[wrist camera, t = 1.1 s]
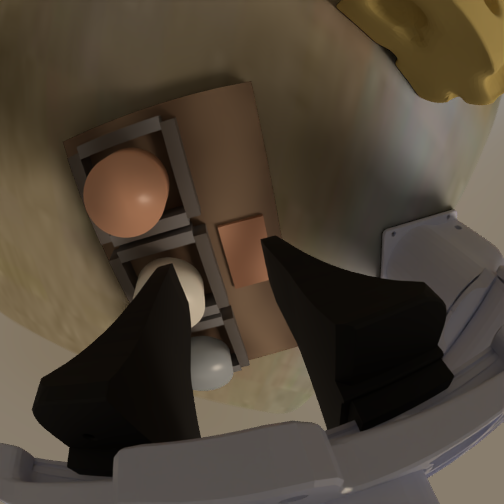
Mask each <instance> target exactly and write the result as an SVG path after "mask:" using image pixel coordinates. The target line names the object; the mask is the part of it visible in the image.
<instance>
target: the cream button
mask: <svg viewBox="0 0 504 504" xmlns="http://www.w3.org/2000/svg"><path fill="white" fill-rule="evenodd" d="M170 263H173V266H174V268H175V271H176V273H177V276H178V278H179V281H180V283H181V286H182V288H183V291H184V293H185V295H186V298H187V300H188V302H189V309H190V317H191V327H193V326H194V325H196V324H197V323H198V322H199V321H200V320H201V318H202V316H203V314H204V311H205V297H204V284H203V279H202V277H201V275H200V273H199V272H198V270H197V269H196V268H195V267H194V266H193V265H191V264H190V263H188V262H186V261H184V260H181V259H178V258H172V257H166V258H159V259H156V260H154V261H152V262H150V263H148V264H147V265H146V266H145V267H144V268H143V269H142V270H141V272H140V274H139V276H138V280H137V284H136V288H135V292H134V296H133V299H134V298H135V296H136V295H137V294H138V292H139V291H140V290H141V288H142V287H143V286H144V284H145V283H146V282H147V280H148V279H149V277H150V276H151V275H152V273H153V272H154V271H155V270H156V268H157V267H159V266H163V265H167V264H170Z"/></svg>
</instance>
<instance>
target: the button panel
mask: <svg viewBox="0 0 504 504" xmlns="http://www.w3.org/2000/svg"><path fill="white" fill-rule="evenodd" d="M63 144H64V147H65V150H66V153H67V156H68V158H67V159H68V162H69V165H70V168H71V171H72V173H73V176H74V179H75V182H76V185H77V187H78V190H79V193H80V195H81V198H82V201H83V203H84V197H83V192H84V185H85V182H86V179H87V177H88V174H89V173H90V171H91V170H92V169H93V167H94V166H95V165H96V164H97V163H99V162H100V161H101V160H103V159H104V158H106V157H107V156H109V155H111V154H112V153H114V152H116V151H118V150H120V149H124V148H140V149H144V150H146V151H149V152H150V153H152V154H154V155H155V156H156V157H157V158H158V159H159V160H160V161H161V162H162V164H163V165H164V167H165V169H166V171H167V174H168V177H169V194H168V198H167V201H166V205H165V208H164V211H163V214H162V216H161V218H160V219H159V221H158V222H157V223H156V225H155V226H154V227H153V228H151V229H150V230H149V231H147V232H146V233H144V234H141V235H139V236H135V237H129V238H122V237H116V236H113V235H110V234H108V233H106V232H104V231H103V230H101V229H100V228H99V227H98V226H97V225H95V223H94V222H93V221H92V220H91V218H90V217H89V218H90V221H91V223H92V225H93V228H94V230H95V232H96V235H97V237H98V239H99V241H100V244H101V245H102V247H103V249H104V251H105V253H106V255H107V257H108V260H109V263H110V265H111V267H112V269H113V271H114V273H115V275H116V277H117V279H118V281H119V283H120V285H121V287H122V289H123V291H124V293H125V295H126V297H127V299H128V300H129V302H130V303H131V301H132V300H133V296H134V292H135V288H136V284H137V280H138V276H139V274H140V272H141V270H142V269H143V268H144V267H145V266H146V265H147V264H148V263H150V262H152V261H154V260H156V259H159V258H166V257H172V258H178V259H181V260H184V261H186V262H188V263H190V264H191V265H193V266H194V267H195V268H196V269H197V270H198V272H199V273H200V275H201V277H202V279H203V284H204V297H205V311H204V314H203V316H202V318H201V320H200V321H199V322H198V323H197V324H196V325H194V326H193V327H191V338H192V337H196V336H209V337H214V338H217V339H219V340H221V341H223V342H224V343H225V344H226V345H227V346H228V348H229V350H230V356H231V361H232V367H233V372H236V371H240V370H242V369H241V367H244V366H248V365H250V364H249V360H251V359H255V358H259V357H262V356H266V355H270V354H273V353H277V352H280V351H284V350H287V349H290V348H294V347H297V346H298V345H297V343H296V341H295V339H294V337H293V335H292V333H291V331H290V329H289V327H288V325H287V323H286V321H285V319H284V317H283V315H282V313H281V311H280V309H279V307H278V305H277V303H276V300H275V297H274V294H273V291H272V288H271V286H270V283H269V278H268V274H267V269H266V264H265V259H264V255H263V250H262V245H261V241H260V239H263V238H267V237H271V236H275V235H276V236H278V237H279V238H281V239H282V237H281V231H280V225H279V220H278V214H277V208H276V203H275V197H274V192H273V187H272V181H271V176H270V171H269V166H268V160H267V155H266V150H265V145H264V140H263V135H262V130H261V125H260V121H259V116H258V111H257V106H256V102H255V97H254V92H253V88H252V83H251V81H250V82H244V83H239V84H234V85H229V86H224V87H220V88H215V89H211V90H207V91H203V92H199V93H195V94H191V95H187V96H184V97H180V98H177V99H173V100H170V101H167V102H163V103H160V104H157V105H154V106H151V107H148V108H145V109H142V110H139V111H136V112H133V113H130V114H128V115H125V116H122V117H120V118H117V119H114V120H112V121H109V122H107V123H104V124H102V125H100V126H97V127H95V128H92V129H90V130H88V131H86V132H83V133H81V134H79V135H77V136H75V137H72V138H70V139H68V140H66V141H64V142H63ZM84 206H85V204H84ZM88 216H89V215H88Z"/></svg>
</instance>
